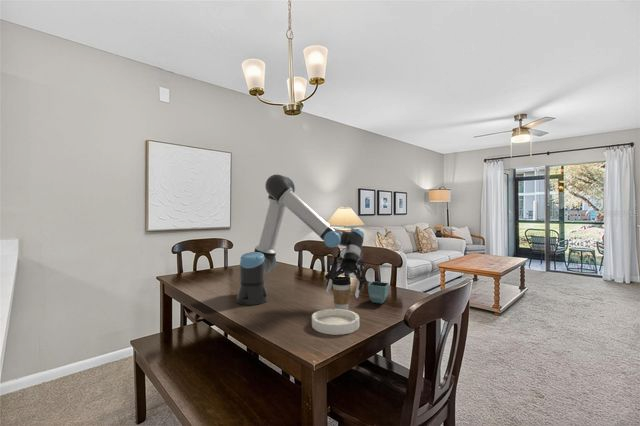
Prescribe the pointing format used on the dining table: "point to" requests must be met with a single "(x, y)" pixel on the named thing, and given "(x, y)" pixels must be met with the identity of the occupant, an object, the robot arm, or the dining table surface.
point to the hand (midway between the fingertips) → (341, 294)
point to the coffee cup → (341, 292)
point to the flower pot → (378, 291)
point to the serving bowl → (335, 321)
